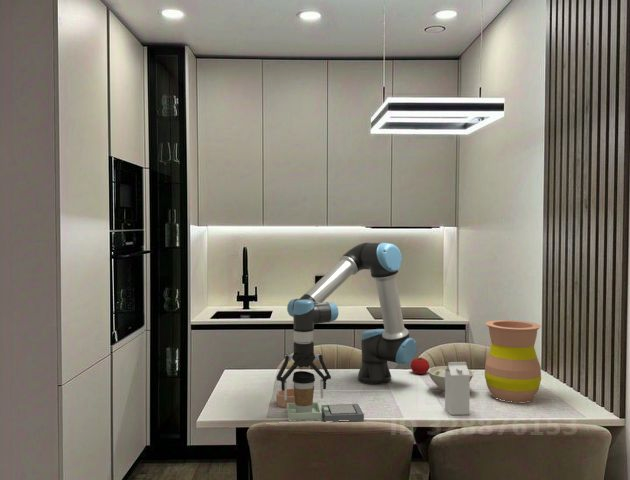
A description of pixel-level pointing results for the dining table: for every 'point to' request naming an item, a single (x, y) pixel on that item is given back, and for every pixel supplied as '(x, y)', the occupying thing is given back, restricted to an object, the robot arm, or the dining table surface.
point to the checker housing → (336, 417)
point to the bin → (281, 399)
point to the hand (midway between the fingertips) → (303, 398)
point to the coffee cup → (303, 391)
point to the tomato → (419, 366)
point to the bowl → (441, 376)
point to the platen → (342, 409)
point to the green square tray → (313, 415)
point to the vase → (513, 360)
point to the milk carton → (457, 388)
